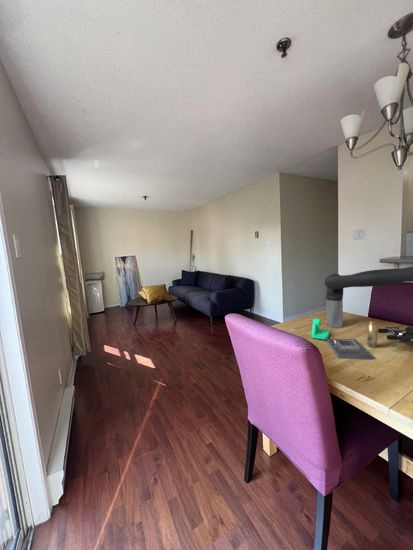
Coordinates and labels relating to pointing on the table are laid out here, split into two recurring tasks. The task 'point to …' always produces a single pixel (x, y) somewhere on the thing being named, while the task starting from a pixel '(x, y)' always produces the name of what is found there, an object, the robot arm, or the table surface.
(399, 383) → the table surface
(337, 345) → the dock
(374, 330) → the brass cylinder peg
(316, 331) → the camera mount
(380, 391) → the table surface
